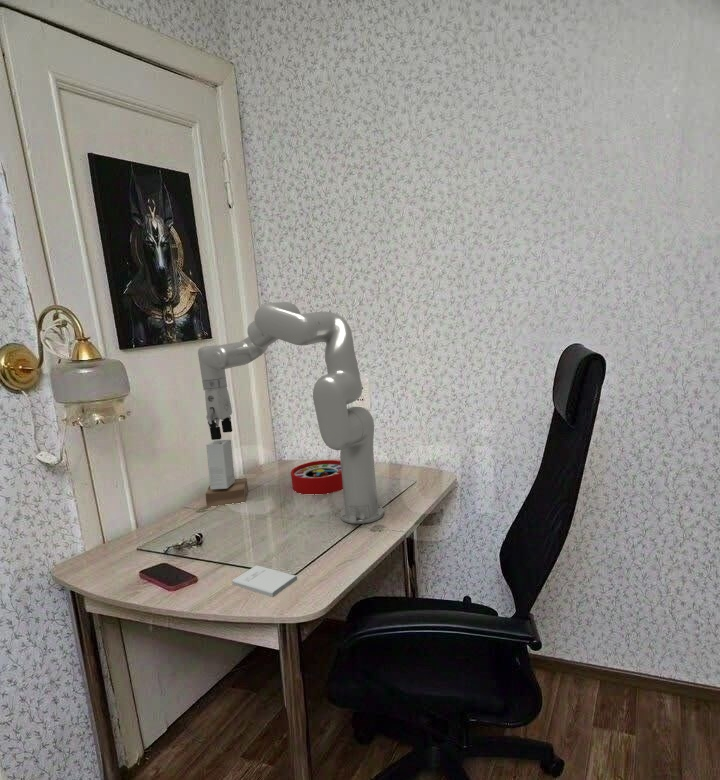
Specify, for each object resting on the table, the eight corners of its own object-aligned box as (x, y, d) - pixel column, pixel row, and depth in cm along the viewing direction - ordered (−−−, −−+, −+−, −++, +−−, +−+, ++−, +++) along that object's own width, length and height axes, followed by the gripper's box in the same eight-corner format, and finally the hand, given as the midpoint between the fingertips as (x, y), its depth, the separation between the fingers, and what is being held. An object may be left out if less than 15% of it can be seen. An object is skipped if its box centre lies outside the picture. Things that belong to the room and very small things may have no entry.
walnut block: (245, 504, 174) (243, 489, 173) (207, 509, 173) (205, 494, 172) (248, 491, 186) (246, 477, 185) (212, 496, 184) (211, 482, 184)
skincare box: (218, 484, 181) (213, 440, 180) (236, 482, 180) (231, 438, 179) (209, 490, 172) (204, 444, 172) (228, 488, 172) (223, 442, 171)
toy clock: (299, 461, 196) (353, 459, 192) (301, 476, 197) (355, 474, 193) (283, 479, 176) (343, 477, 173) (285, 496, 177) (345, 495, 174)
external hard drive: (273, 599, 116) (232, 586, 122) (297, 581, 122) (257, 570, 129) (272, 592, 115) (231, 579, 122) (296, 575, 122) (257, 563, 129)
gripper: (215, 387, 165) (223, 441, 167) (235, 379, 182) (242, 428, 184) (192, 389, 166) (200, 443, 168) (214, 381, 183) (221, 430, 185)
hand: (222, 435), depth 176 cm, fingers open, 9 cm apart
